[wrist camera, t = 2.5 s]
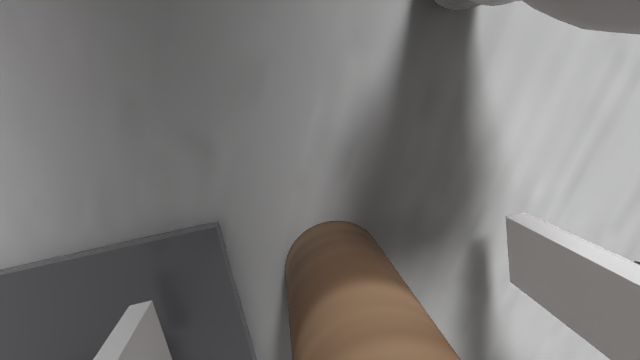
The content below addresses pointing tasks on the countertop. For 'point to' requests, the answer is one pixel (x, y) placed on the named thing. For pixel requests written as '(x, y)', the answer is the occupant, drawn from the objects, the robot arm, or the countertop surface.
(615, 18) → the lightbulb
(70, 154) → the countertop surface
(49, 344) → the socket
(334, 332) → the peg
